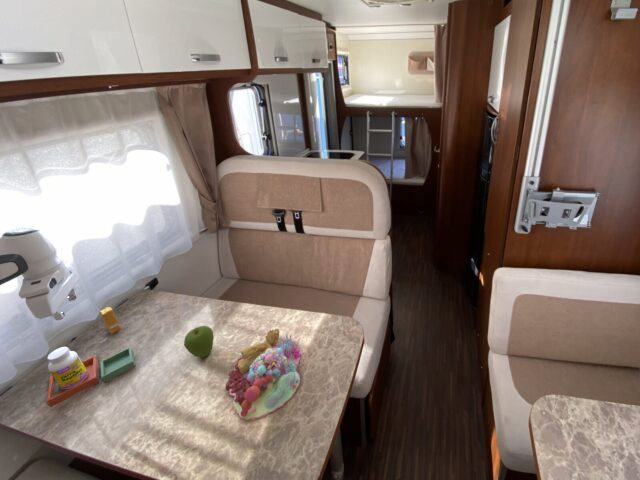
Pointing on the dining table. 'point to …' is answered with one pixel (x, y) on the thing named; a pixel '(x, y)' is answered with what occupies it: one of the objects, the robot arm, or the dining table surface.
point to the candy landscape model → (264, 377)
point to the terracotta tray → (91, 380)
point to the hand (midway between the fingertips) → (67, 308)
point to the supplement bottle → (66, 368)
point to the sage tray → (117, 364)
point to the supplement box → (110, 320)
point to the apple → (199, 341)
